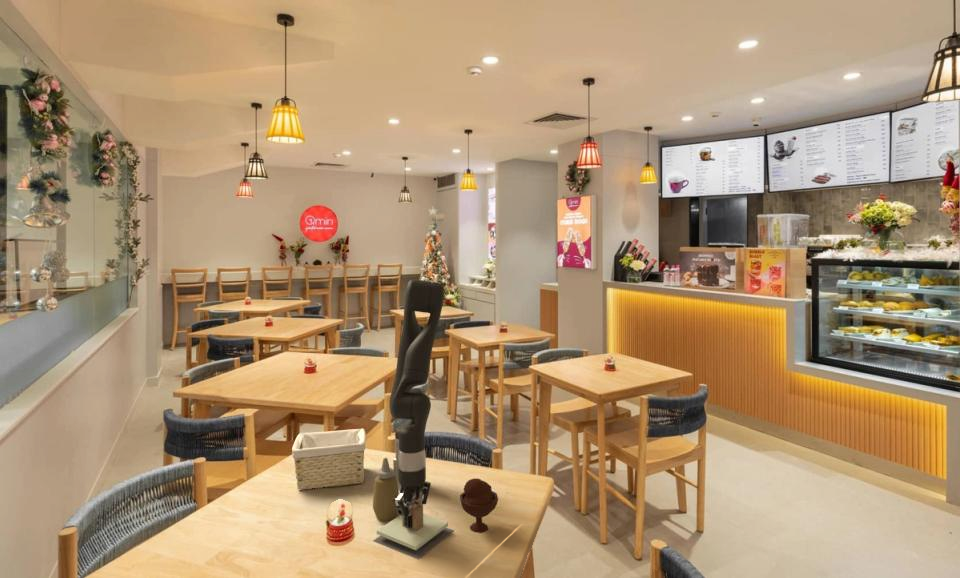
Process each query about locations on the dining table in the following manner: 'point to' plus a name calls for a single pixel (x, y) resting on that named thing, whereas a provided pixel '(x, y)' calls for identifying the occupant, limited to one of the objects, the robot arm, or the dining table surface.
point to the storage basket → (329, 458)
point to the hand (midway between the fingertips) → (412, 524)
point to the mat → (412, 552)
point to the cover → (413, 529)
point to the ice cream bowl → (478, 502)
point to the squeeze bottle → (385, 493)
